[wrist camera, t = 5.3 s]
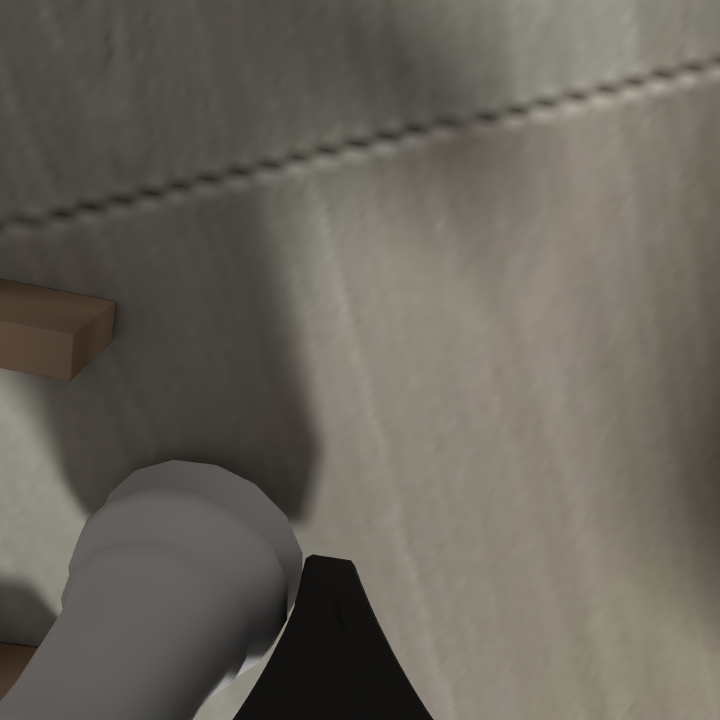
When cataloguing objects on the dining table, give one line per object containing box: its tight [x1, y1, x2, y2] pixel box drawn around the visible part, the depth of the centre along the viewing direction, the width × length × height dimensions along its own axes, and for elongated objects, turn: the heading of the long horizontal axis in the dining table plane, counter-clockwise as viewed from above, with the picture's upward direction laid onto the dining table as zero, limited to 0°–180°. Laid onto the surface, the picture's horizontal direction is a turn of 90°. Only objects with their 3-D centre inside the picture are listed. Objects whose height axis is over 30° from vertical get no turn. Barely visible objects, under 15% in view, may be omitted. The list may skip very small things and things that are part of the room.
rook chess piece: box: [0, 460, 302, 720], centre depth 9 cm, size 4×4×8 cm
